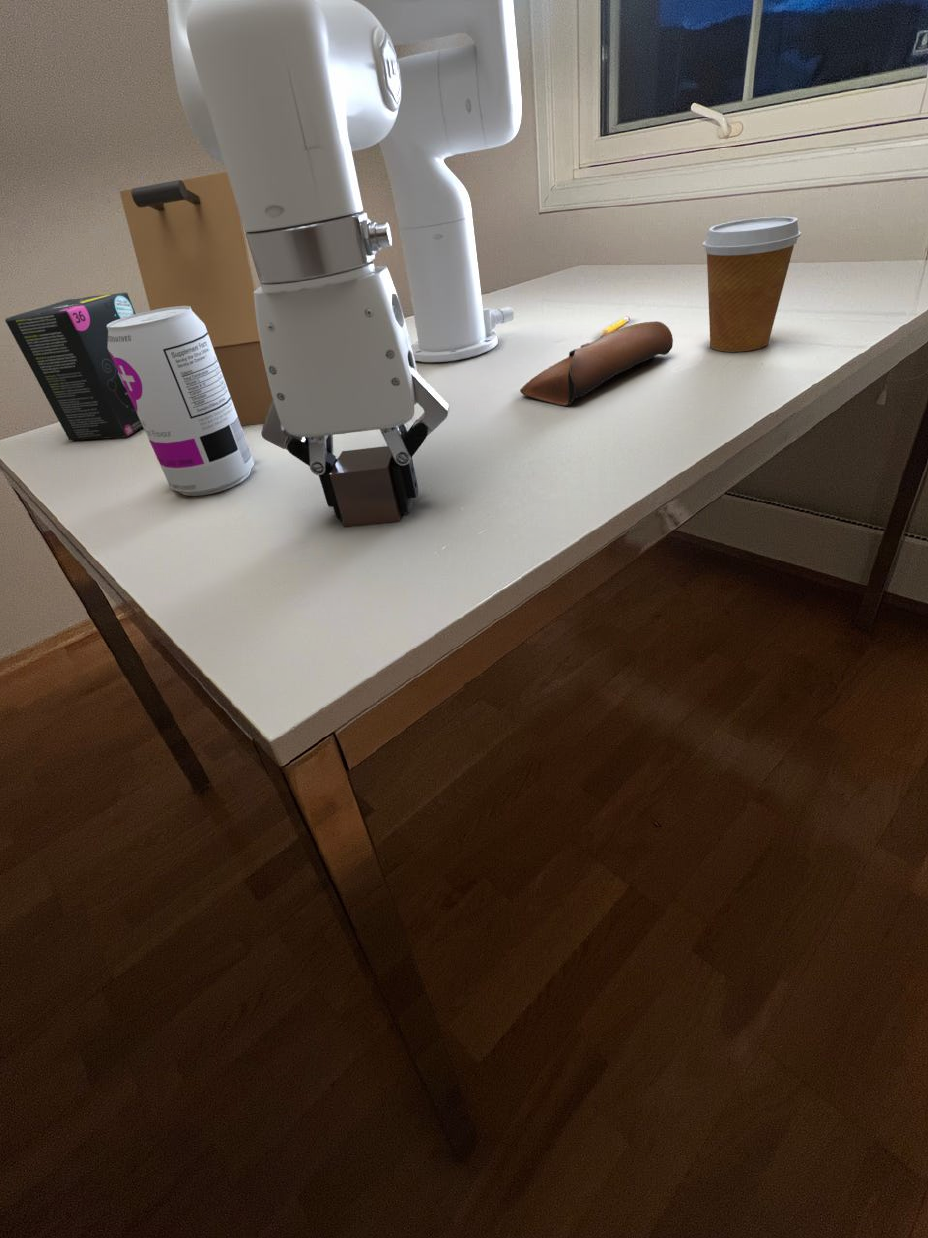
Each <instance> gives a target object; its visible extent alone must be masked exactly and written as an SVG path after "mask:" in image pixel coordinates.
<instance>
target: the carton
mask: <svg viewBox="0 0 928 1238" xmlns="http://www.w3.org/2000/svg"><path fill="white" fill-rule="evenodd" d="M213 349H214V352H215V355H216V357H217V360H218V363H219V366H220V369H221V371H222V374H223V377H224V380H225V383H226V385H227V388H228V391H229V394H230V397H231V399H232V402H233V405H234V408H235V411H236V413H237V416H238V419H239V422H240V425H241V427H242V426H250V425H258V424H264V423H265V420H266V417H267V414H268V411H269V408H270V405H271V402H272V399H273V397H272V393H271V389H270V385H269V382H268V377H267V373H266V369H265V365H264V360H263V355H262V350H261V345H260V341H259V342H252V343H245V344H238V345H231V346H224V347H217V348H213Z"/></svg>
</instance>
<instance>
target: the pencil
mask: <svg viewBox="0 0 928 1238" xmlns="http://www.w3.org/2000/svg"><path fill="white" fill-rule="evenodd" d="M630 321H631V318H630V316H625V317H623V318H621V319H620V320H618V321H616V322H615V323H613V324H612V325H610V326H608V327H606V328H605V329H603V330H602V332H601V333H600V335H599V337H603V336H605V335H607V334H609V333H611V332H614V331H616V330H619V329H621V327H624V326H625V325H627V324H628V323H629V322H630Z"/></svg>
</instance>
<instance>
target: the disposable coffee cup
mask: <svg viewBox="0 0 928 1238" xmlns="http://www.w3.org/2000/svg"><path fill="white" fill-rule="evenodd" d="M801 234H802V232H801V231H800V230H799V220H798V218H797V217H794V216H763V217H755V218H754V217H753V218H746V219H740V220H733V221H728V222H723V223H720V224H715V225H713V226H711V227H709V228H708V230H707V235H706V238H705V240H704V241H703V243H702V246H703V247H704V253H705V254H706V268H707V269H706V270H707V271H706V272H707V295H708V319H709V321H708V324H709V347H710V348H712V350H716V351H719V352H727V353H729V352H730V353H735V352H748V351H753V350H758V349H761V348H764V347H765V346H767V345H768V344H769V343H770V339H771V335H772V331H773V327H774V324H775V321H776V315H777V313H778V308H779V304H780V300H781V297H782V293H783V290H784V285H785V281H786V278H787V273H788V270H789V267H790V262H791V258H792V254H793V251H794V247H795V245H796V244H797V243H798V238H799V237H800V236H801Z"/></svg>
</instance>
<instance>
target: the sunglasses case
mask: <svg viewBox="0 0 928 1238" xmlns="http://www.w3.org/2000/svg"><path fill="white" fill-rule="evenodd" d="M673 343H674V339H673V333H672V331H671V330H670V328H669V326H667V325H666V324H665V323H663V322H661V321H643V322H640V323H639V322H638V323H634V324H630V325H627V326H623V327H622V328H618V329H616V330H615V331H613V332H611V333H609V334H607V335H605V336H600V337H599V338H597V339H595V340H593V341H592V342H587V343H585V344H582V345H581V346H580V347H579V348H574V349H573V350H571V351H569V353H568V356H567V357H566V358H564V359H562V360H560V361H558V362H557V363H554V364H553V365H551V366H549V367H548V368H546V369H544V370H542V371H541V372H540V373H538V374H536V375H535V376H534V377H533V378H531V379H530V380H529V381H528V382H526V383H525V384H524V385H523V386H521V388H520V390H519V391H520V393H521V394H522V395H523V396H526V397H529V398H532V399H534V400H536V401H539V402H543V403H548V404H553V405H557V406H563V407H567V406H569V405H571V404H572V403H573V402H574V400H575V399H579V398H581V397H584V395H585V394H588V393H590V392H591V391H593V390H594V389H595V388H597V387H599V386H601V385H602V384H603V383H604V382H607V381H608V380H610V379H612V378H613V377H614V376H615V375H619V374H621V373H622V372H625V371H628V370H629V369H632V368H633V367H635V366H637V365H638V364H640V363H643V362H644V363H645V362H646V361H647V360H650V359H651V358H654V357H655V356H657V355H663V356H665V355H668V354H669V353H670V351H671V350H672V349H673V347H674V346H673Z"/></svg>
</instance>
